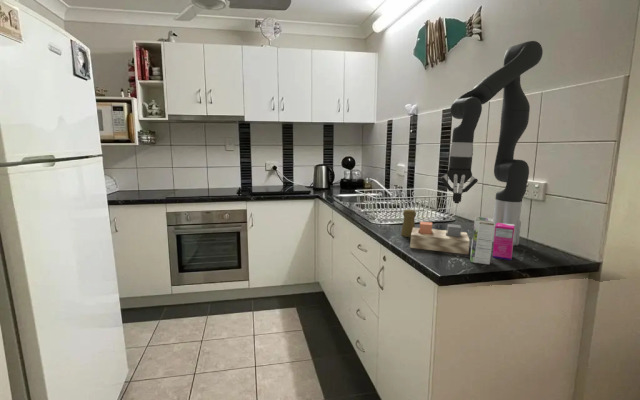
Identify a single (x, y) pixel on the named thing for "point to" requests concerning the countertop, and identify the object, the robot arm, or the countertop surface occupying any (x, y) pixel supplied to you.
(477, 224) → the syrup box
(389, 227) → the countertop surface
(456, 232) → the grey plug
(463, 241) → the block
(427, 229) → the terracotta plug
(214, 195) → the countertop surface
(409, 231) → the cork
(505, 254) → the supplement box
